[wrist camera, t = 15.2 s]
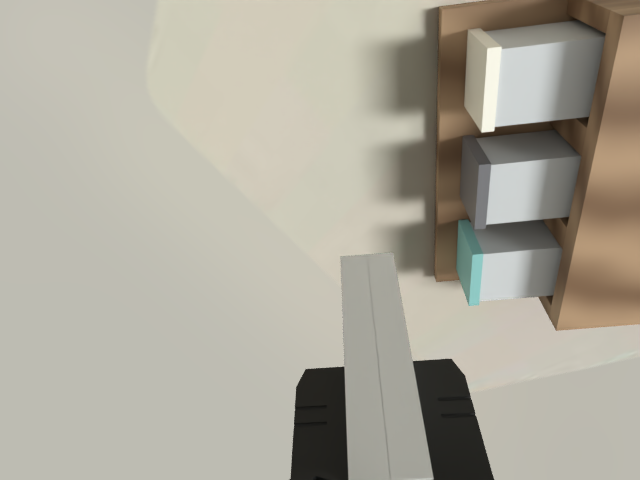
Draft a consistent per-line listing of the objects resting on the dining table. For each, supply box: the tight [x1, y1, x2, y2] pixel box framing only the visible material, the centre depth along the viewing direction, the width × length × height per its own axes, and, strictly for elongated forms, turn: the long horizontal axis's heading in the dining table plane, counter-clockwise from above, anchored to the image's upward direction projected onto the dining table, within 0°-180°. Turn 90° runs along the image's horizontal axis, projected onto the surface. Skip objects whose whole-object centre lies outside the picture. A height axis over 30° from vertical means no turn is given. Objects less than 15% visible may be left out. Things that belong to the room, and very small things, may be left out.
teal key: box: [456, 219, 562, 306], centre depth 40 cm, size 5×13×5 cm, turn 97°
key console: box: [434, 0, 640, 331], centre depth 35 cm, size 23×18×8 cm
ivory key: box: [464, 20, 606, 133], centre depth 32 cm, size 5×13×5 cm, turn 97°
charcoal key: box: [460, 130, 581, 230], centre depth 36 cm, size 5×13×5 cm, turn 97°
